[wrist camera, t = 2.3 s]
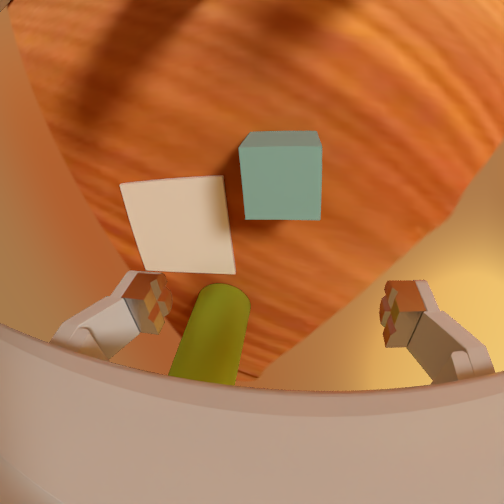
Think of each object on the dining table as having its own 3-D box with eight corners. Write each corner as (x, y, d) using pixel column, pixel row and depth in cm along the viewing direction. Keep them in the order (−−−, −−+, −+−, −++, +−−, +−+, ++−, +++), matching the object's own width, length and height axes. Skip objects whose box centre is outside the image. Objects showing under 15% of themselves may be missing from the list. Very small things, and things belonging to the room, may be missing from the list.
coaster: (121, 183, 25) (119, 184, 24) (223, 175, 23) (222, 176, 23) (147, 268, 30) (145, 270, 30) (235, 271, 29) (235, 274, 28)
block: (250, 131, 21) (238, 147, 17) (316, 131, 20) (322, 146, 16) (255, 190, 24) (245, 219, 20) (316, 190, 23) (320, 220, 19)
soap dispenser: (215, 267, 29) (144, 468, 13) (261, 308, 31) (227, 494, 15) (181, 292, 32) (112, 461, 15) (225, 327, 34) (182, 488, 18)
